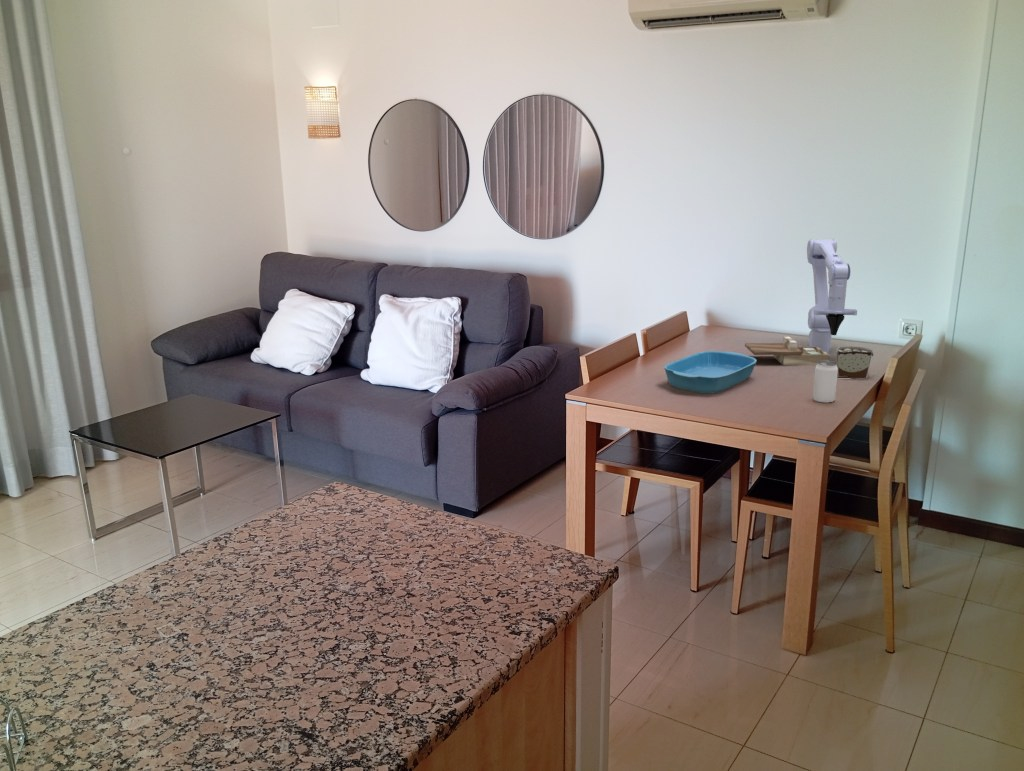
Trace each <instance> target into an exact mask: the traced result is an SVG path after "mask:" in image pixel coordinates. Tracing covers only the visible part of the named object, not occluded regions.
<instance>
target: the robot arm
mask: <svg viewBox="0 0 1024 771" xmlns="http://www.w3.org/2000/svg"><path fill="white" fill-rule="evenodd" d="M837 248H838V242H837V240H836V239H835V238H832V239H831V238H830V239H828V238H827V239H826V238H825V239H824V238H823V239H819V238H818V239H813V238H810V239H809V240H808V241H807V247H806V258H807V262H808V263H809V264H810V265H812V266H811V267H812V273H813V285H814V287H813V290H814V304H815V305H814V306H812V307H811V308H810V309H809V310H808V314H807V315H808V316H807V325H808V328H809V330H810V331H809V333H808V341H807V342H808V343H807V347H819V348H820V349H822V350H823V351H824V352H826V353H827V354H829V353H831V345H832V336H837V334H838V331H839V328H840V326H841V324H843V321H844V320H845V316H857V315H858V310H857V309H856V308H854V309H853V308H845V306H846V296H847V295H846V294H847V287H848V286H847V285H848V284H847V283H848V281H849V280H850V278H851V277H850V276H851V266H850V264H849V263H845V262H844V261H843V258H842V257H841V256H840V255H839V254H838V253H837ZM827 270H828V272H827ZM828 285H829V286H828Z"/></svg>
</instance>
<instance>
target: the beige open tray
mask: <svg viewBox="0 0 1024 771" xmlns="http://www.w3.org/2000/svg"><path fill="white" fill-rule="evenodd" d="M797 348H798V349H799V350H801V351H802V353H803V348H814V349H815V350H816V352H818V353H821V354H817V355H772V356H773V358H774V359H775V360H776V361H777V362H779V363H780V364H781V365H782V366H817V364H818V363H817V362H819V361H830V354H829V353H826V352H824V351H823V350H822V349H820V348H819V347H808V346H797Z"/></svg>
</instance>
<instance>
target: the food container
mask: <svg viewBox="0 0 1024 771" xmlns="http://www.w3.org/2000/svg"><path fill="white" fill-rule="evenodd" d="M834 355H835V357H836V363H837V368H838V373H837V377H838V378H852V380H854V379H853V378H858V379H859V380H867V378H868V374H869V370H870V364H871V361H872V357H874V352H873V349H871V348H867V347H861V346H852V345H851V346H839V347H837V349H836V351H835V354H834ZM838 378H837V379H838ZM858 379H857V380H858Z"/></svg>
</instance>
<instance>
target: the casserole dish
mask: <svg viewBox="0 0 1024 771" xmlns="http://www.w3.org/2000/svg"><path fill="white" fill-rule="evenodd" d="M756 364H757V359H756V358H755V357H753V356H750V355H746V354H744V353H740V352H734V351H723V350H722V351H719V350H718V351H717V350H706V351H700V352H696V353H693V354H690V355H687V356H684V357H682V358H680V359H677V360H674V361H672V362H668V363H667V364H665V365H664V366H663V367H664V371H665V375H666V377H667V381H668V382H669V384H670V385H671V386H672V387H673V386H674V387H673V388H676V389H679V388H680V389H679V390H684V391H689V392H693V393H694V392H695V393H701V394H715V393H720V392H722V391H724V390H727V389H729V388H732V387H733V386H735V385H738V384H740V383H742V382H744V381H746V380H747V379H748V378H749V377H750V376H751V375H752V373H753V371H754V369H755V366H756Z"/></svg>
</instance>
